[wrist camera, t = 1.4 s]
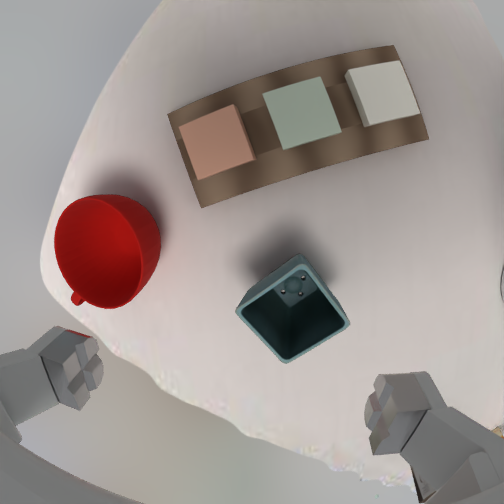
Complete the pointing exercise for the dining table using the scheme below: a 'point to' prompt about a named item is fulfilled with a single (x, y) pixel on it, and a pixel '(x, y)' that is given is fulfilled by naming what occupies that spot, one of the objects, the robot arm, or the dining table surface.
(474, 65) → the dining table surface
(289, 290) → the flower pot
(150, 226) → the ceramic cup
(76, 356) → the robot arm
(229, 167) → the pink square block
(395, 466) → the dining table surface
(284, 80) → the button board
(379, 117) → the white square block
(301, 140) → the sage tile
